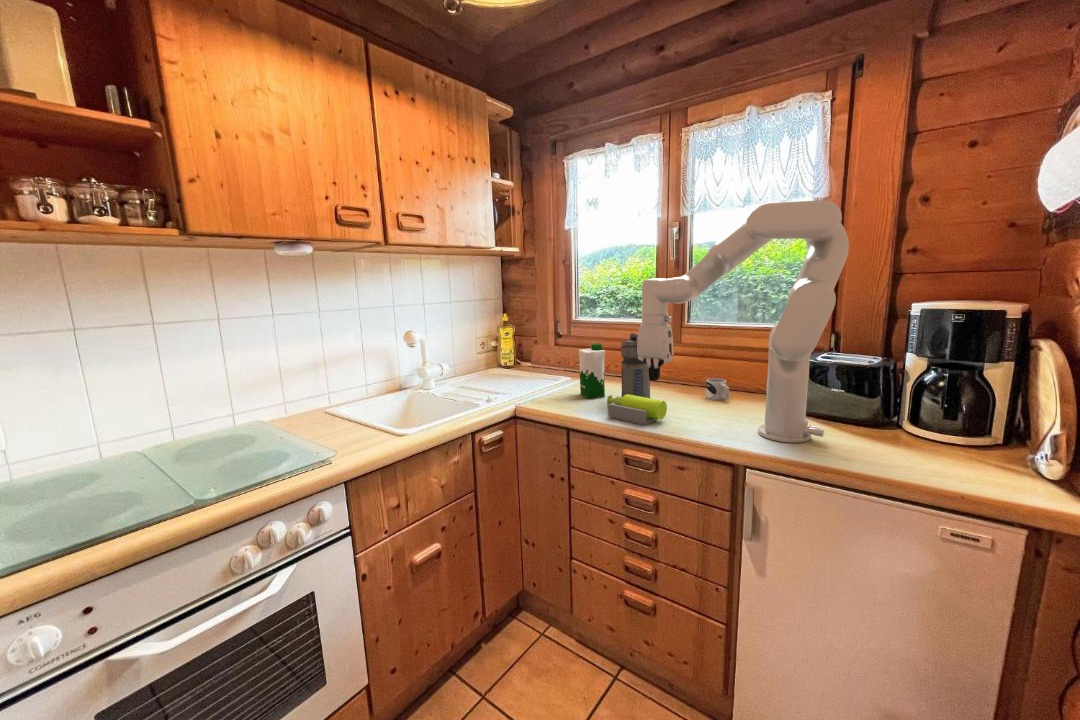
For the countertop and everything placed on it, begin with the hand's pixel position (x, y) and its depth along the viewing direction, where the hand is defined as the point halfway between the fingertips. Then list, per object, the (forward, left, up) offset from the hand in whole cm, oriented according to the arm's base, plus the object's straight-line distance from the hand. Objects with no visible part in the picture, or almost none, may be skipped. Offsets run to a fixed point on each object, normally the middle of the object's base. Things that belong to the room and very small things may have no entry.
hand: (654, 379), depth 131 cm
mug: (-7, -36, -13) cm, 39 cm away
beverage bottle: (+16, -17, -13) cm, 27 cm away
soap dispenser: (-3, 0, -10) cm, 10 cm away
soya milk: (+33, -14, -13) cm, 38 cm away
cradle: (+6, 0, -13) cm, 15 cm away
